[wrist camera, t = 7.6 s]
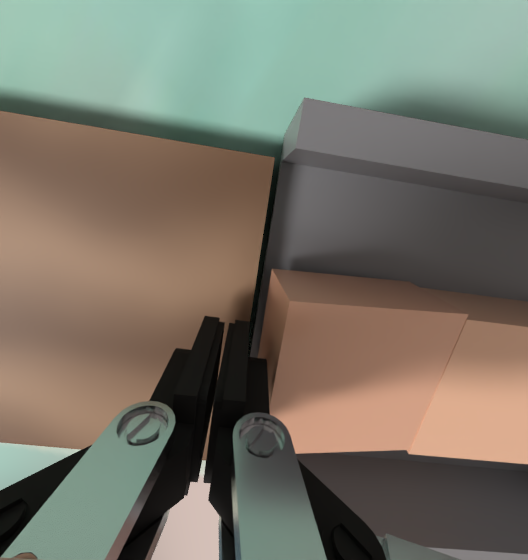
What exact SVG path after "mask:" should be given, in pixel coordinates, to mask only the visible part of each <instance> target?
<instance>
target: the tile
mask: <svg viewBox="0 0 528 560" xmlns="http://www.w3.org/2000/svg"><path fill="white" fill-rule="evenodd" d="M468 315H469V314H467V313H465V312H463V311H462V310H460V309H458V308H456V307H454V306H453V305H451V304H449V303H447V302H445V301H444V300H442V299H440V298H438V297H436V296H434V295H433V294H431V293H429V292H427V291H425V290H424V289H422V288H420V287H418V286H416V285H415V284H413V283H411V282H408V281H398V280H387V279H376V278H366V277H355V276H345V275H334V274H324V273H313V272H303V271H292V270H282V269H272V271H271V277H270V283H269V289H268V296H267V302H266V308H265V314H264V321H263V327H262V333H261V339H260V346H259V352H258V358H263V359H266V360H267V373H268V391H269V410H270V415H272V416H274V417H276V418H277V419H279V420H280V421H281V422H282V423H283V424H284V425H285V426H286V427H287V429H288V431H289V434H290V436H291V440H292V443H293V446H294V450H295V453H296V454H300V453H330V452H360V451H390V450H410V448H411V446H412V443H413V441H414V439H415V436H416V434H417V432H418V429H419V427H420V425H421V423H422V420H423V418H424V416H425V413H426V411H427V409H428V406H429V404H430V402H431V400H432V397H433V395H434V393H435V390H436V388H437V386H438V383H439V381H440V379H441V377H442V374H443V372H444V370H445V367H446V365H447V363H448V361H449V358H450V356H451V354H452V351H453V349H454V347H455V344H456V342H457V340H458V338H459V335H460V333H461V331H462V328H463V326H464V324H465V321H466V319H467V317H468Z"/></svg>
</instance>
